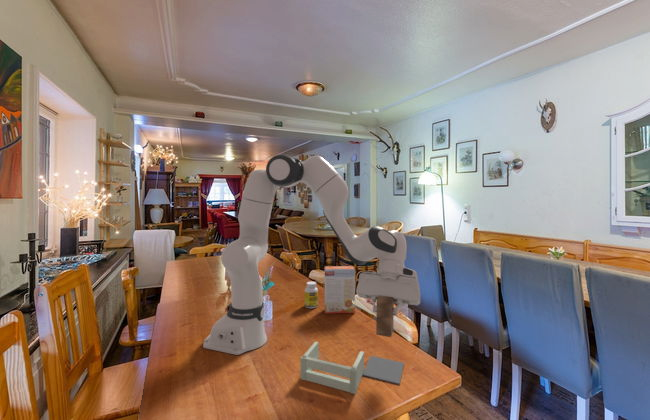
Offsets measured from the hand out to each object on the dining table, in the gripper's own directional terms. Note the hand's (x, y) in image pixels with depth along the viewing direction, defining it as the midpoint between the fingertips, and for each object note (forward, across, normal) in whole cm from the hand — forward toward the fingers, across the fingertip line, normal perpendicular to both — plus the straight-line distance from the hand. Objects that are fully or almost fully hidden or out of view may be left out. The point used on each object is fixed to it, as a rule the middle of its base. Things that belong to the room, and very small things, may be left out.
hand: (384, 313), depth 88 cm
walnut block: (+4, 0, +5) cm, 6 cm away
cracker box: (-14, -28, +40) cm, 50 cm away
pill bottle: (-14, -42, +40) cm, 60 cm away
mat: (+12, 0, +13) cm, 18 cm away
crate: (+19, -14, +7) cm, 24 cm away
